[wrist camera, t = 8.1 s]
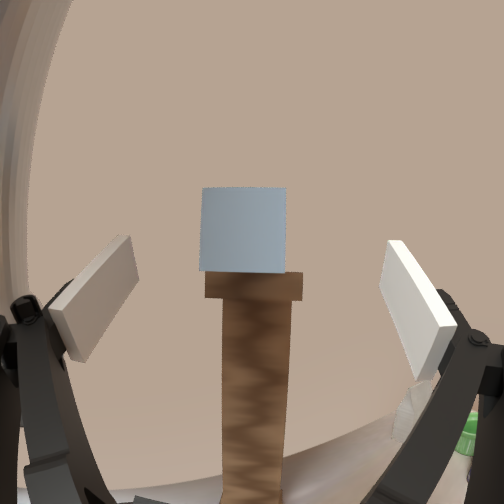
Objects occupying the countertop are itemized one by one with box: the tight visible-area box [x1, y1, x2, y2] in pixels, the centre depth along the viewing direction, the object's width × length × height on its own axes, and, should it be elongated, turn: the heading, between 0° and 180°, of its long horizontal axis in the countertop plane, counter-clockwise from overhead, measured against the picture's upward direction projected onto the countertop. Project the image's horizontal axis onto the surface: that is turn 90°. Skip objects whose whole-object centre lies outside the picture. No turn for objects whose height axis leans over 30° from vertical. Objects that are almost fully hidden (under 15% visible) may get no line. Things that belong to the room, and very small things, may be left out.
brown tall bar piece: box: [205, 271, 303, 504], centre depth 26 cm, size 7×9×28 cm
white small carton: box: [391, 380, 433, 443], centre depth 43 cm, size 4×7×10 cm, turn 119°
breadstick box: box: [199, 187, 286, 273], centre depth 24 cm, size 4×18×4 cm, turn 176°
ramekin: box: [455, 412, 478, 456], centre depth 34 cm, size 9×9×4 cm
